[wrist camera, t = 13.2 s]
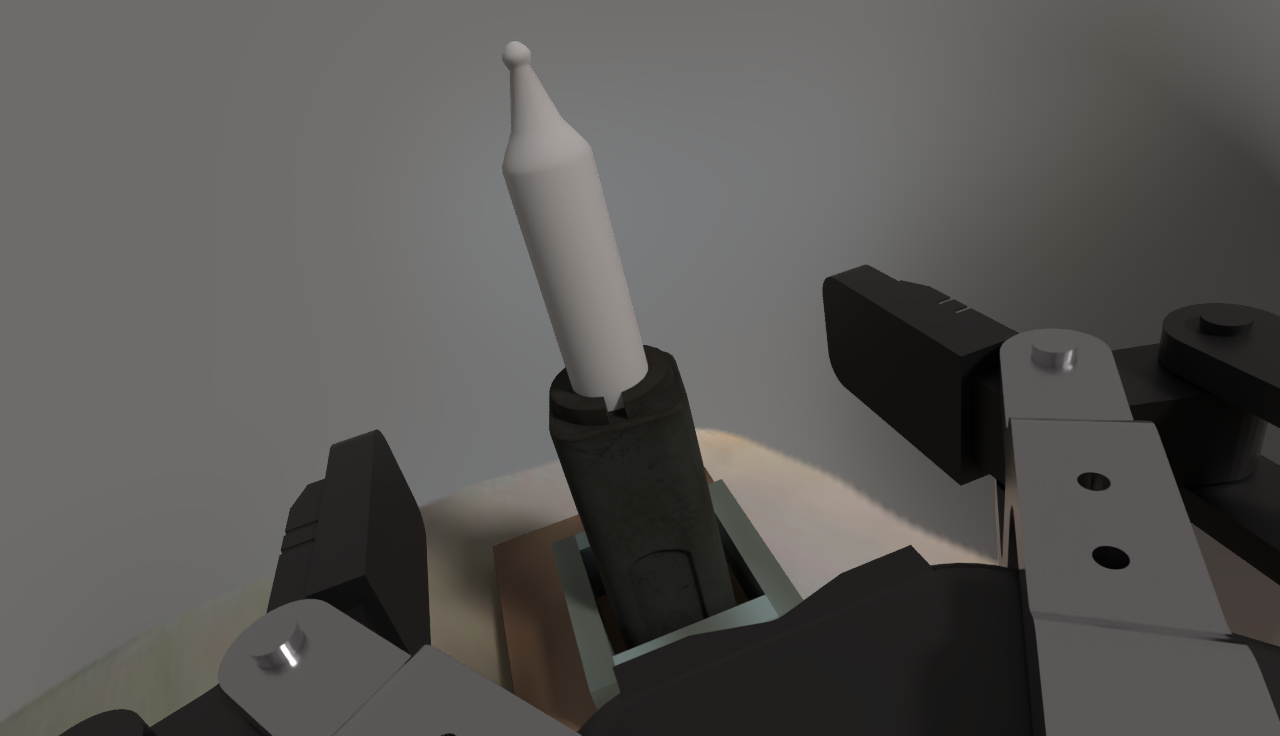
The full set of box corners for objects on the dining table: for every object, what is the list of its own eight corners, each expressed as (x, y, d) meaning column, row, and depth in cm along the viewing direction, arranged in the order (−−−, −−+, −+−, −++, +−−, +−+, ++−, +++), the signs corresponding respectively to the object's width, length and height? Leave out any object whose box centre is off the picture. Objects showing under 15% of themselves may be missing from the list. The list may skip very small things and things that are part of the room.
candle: (724, 569, 35) (591, 16, 23) (749, 654, 31) (601, 22, 19) (623, 595, 35) (440, 57, 23) (633, 684, 31) (414, 72, 19)
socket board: (550, 888, 26) (511, 820, 24) (499, 561, 41) (473, 503, 39) (874, 743, 27) (865, 668, 25) (708, 483, 43) (694, 423, 41)
